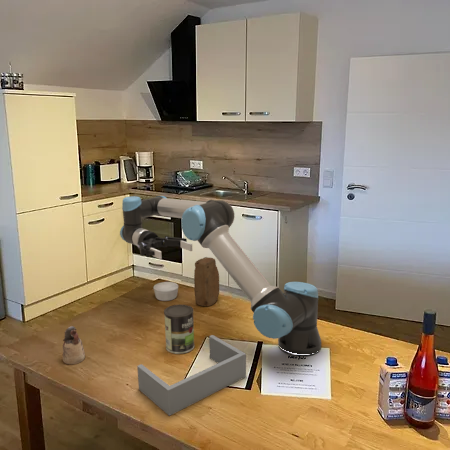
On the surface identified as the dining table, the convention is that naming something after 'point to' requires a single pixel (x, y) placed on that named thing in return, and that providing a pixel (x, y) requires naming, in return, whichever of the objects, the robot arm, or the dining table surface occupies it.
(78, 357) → the figurine
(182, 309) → the coffee can
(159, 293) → the ramekin
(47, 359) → the dining table surface
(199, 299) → the block
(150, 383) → the grey u-shaped bracket
